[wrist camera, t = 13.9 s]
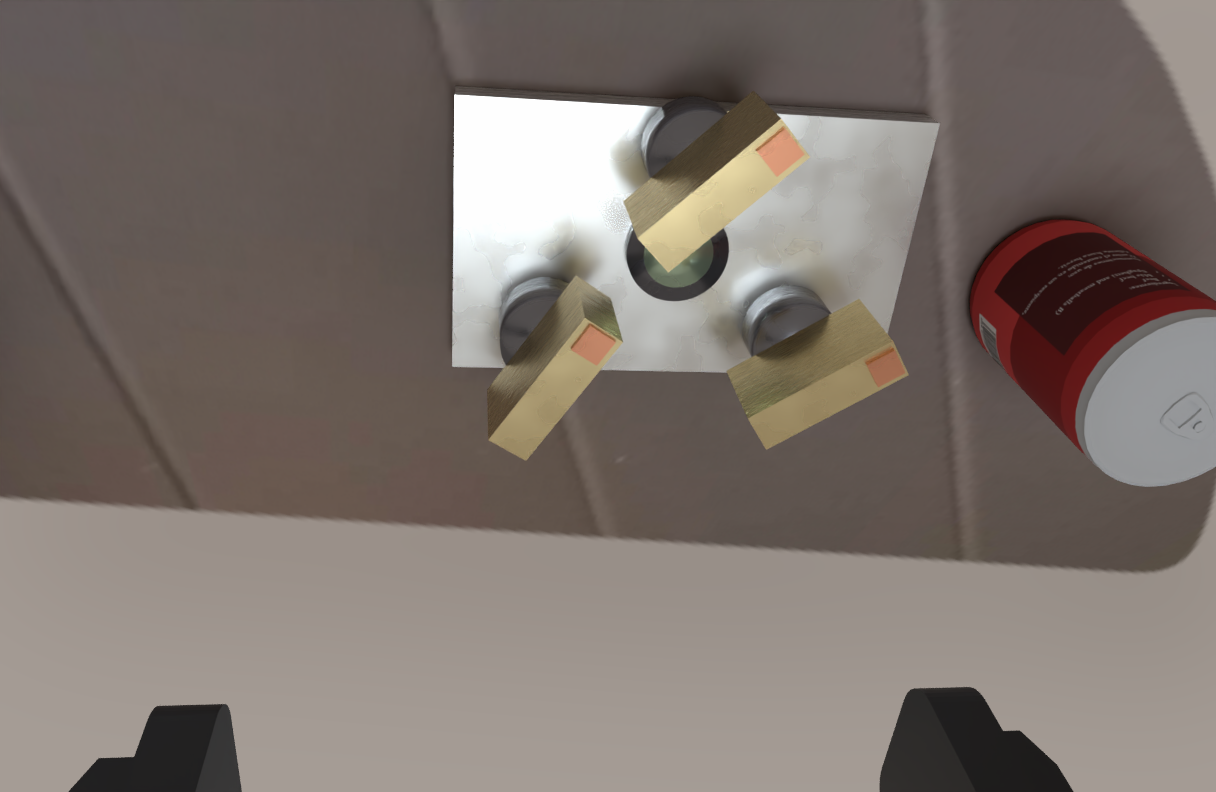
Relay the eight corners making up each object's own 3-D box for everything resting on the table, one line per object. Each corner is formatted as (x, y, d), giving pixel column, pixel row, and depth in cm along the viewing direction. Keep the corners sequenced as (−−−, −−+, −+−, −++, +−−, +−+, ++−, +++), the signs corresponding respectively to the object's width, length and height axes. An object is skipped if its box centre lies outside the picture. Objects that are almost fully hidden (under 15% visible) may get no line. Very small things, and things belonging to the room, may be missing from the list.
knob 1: (539, 392, 46) (548, 475, 40) (465, 350, 44) (464, 429, 39) (623, 287, 44) (646, 358, 38) (549, 238, 42) (561, 305, 36)
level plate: (452, 351, 46) (452, 374, 44) (455, 85, 40) (454, 99, 38) (866, 360, 49) (882, 382, 47) (925, 114, 43) (946, 127, 41)
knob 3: (741, 390, 47) (778, 470, 41) (703, 326, 45) (737, 401, 39) (864, 324, 46) (919, 397, 40) (831, 255, 44) (884, 322, 38)
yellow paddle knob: (658, 230, 42) (687, 295, 37) (598, 161, 41) (618, 218, 35) (779, 130, 41) (829, 181, 35) (721, 54, 39) (764, 95, 33)
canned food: (1059, 380, 51) (1193, 510, 41) (932, 331, 48) (1042, 456, 39) (1154, 248, 47) (1323, 356, 38) (1022, 189, 45) (1167, 288, 36)
